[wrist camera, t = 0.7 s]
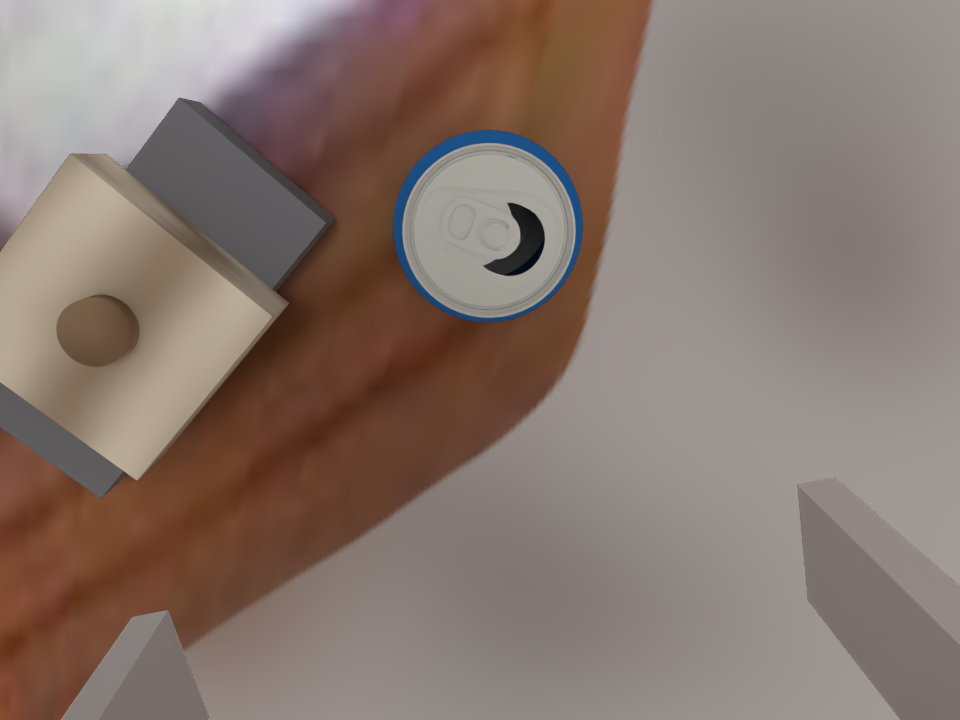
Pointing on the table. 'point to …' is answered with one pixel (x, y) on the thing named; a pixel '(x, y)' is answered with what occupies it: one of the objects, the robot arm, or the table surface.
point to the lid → (122, 313)
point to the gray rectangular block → (214, 211)
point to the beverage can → (487, 226)
